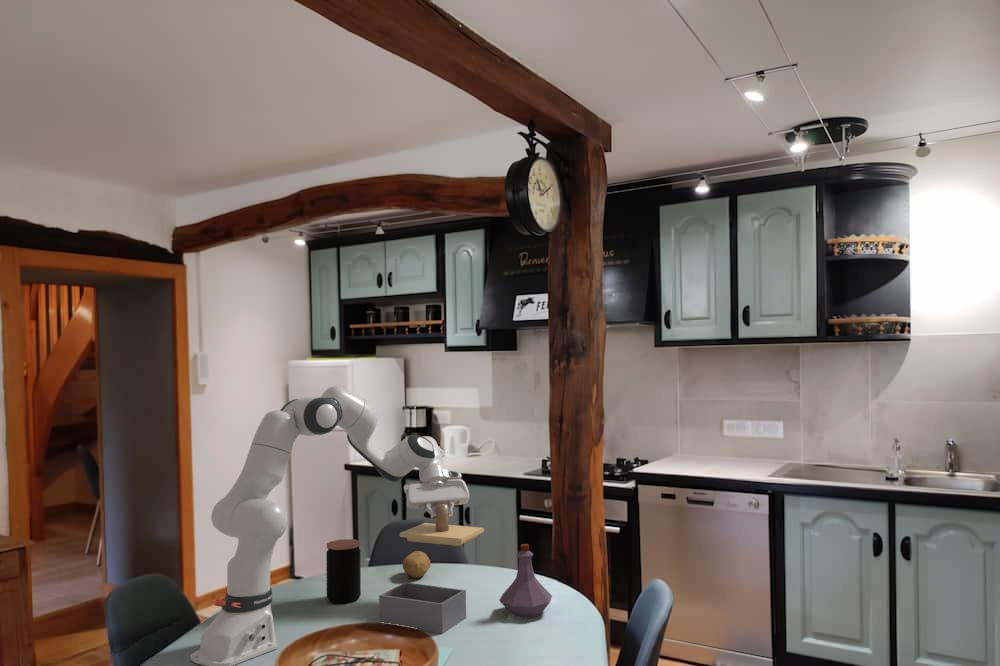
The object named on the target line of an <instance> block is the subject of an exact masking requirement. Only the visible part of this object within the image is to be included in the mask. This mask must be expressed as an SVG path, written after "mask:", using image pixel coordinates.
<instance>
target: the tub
mask: <svg viewBox="0 0 1000 666" xmlns="http://www.w3.org/2000/svg"><path fill="white" fill-rule="evenodd" d="M378 600H379V601H378V602H379V603H378V607H379V608H378V610H379V611H378V613H379V614H378V615H379V619H378V620H379V622H384V623H391V624H399V625H404V626H409V627H414V628H417V629H420V630H419V631H422V630H423V631H424V632H429V633H435V634H442V635H443V634H444V633H446V632H447V631H449V630H450V629H452V628H453V627H455V626H456V625H457V624H459V623H461V622H462V621H463V620H465V619H466V618H467V590H465V589H460V588H458V589H457V588H451V587H443V586H436V585H429V584H421V583H413V582H406V581H405V582H403V583H401V584H399V585H398V586H395V587H394V588H392V589H389V590H388V591H385V592H383V593H382V594H380V595H378Z"/></svg>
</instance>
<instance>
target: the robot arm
mask: <svg viewBox="0 0 1000 666" xmlns="http://www.w3.org/2000/svg"><path fill="white" fill-rule="evenodd" d="M260 421H261V422H260V423H259V425H258V427H257V429H256V432H255V434H254V436H253V439H252V442H251V445H250V447H249V451H248V453H247V456H246V459H245V463H244V464H243V468H242V470H241V472H240V474H239V476H238V477H237V479H236V481H235V483H234V484H233V485H232V487H231V489H230V490H229V491H228V492H227V494H226V495H225V496H224V497H223V498H221V499H219V501H217V502H216V503H215V505H214V506H213V509H212V511H211V516H210V517H211V518H210V519H211V522H212V526H213V527H214V528H215V529H216V530H217V531H219V532H220V533H222V534H224V535H226V536H228V537H232V538H237V539H238V540H237V541H238V543H237V547H236V551H235V554H234V555H233V557H232V558H231V559H230V560H229V561H228V563H227V567H226V568H227V569H226V570H227V571H226V573H227V577H226V583H227V587H226V590H227V592H225V595H224V598H220V597H217V598H215V600H214V602H213V603H214V606H215V607H221V610H220V612H218V614H217V615H216V617H215V618H213V620H212V621H211V623H210V624H209V625H208V626H207V628H205V629H204V630H203V632H202V635H201V639H200V644H199V645H200V648H199V649H198V650H196V651H194V652H193V653H191V654H190V656H189V657H190V658H189V659H190V661H192V662H193V663H194V664H197V665H201V666H235V665H236V664H240V663H243V662H246V661H247V660H250V659H253V658H256V657H258V656H261V655H264V654H266V653H268V652H269V653H270V652H272V651H274V650H276V649H278V643H277V636H276V632H275V626H274V617H273V616H274V615H273V612H272V605H271V603H272V602H273V589H272V587H271V564H272V557H273V552H274V549H275V546H276V544H277V542H278V540H279V539H280V538H281V537H282V536H283V535H284V534H285V532H286V530H287V528H288V523H289V521H288V520H289V518H288V514H287V511H286V509H285V508H284V507H282V506H281V505H279V504H277V503H276V502H274V501H272V500H267V499H268V498H267V497H268V496H269V494H270V493H271V492H272V490H273V489H275V488H276V487H277V486H278V485H280V484H281V483H282V481H283V479H284V477H285V474H286V470H287V467H288V465H289V464H288V463H289V460H290V457H291V454H292V451H293V447H294V443H295V441H296V440H297V438H298V437H299V436H300V435H302V436H306V437H307V436H308V437H309V436H321V435H322V436H323V435H326V434H328V433H330V432H332V431H333V430H335V429H336V427H337V426H339V427H340V428H341V429H342V430H344V431H345V432H346V433H347V434H346V438H347V442H348V443H349V445H350V446H351V447H352V448H353V449H354V450H355V451H356V452H357V453H358V454H360V456H361V457H363V459H365V460H366V461H367V462H368V463H369V464H370V465H371V466H373V467H374V468H375V469H376V470H377V472H378V473H379V475H380V476H381V477H382V478H383V479H384V480H386V481H389V482H392V483H393V482H395V483H398V482H400V481H401V480H402V479H403V478H404V477H405V476H407V475H408V474H409V473H410V472H412V471H413V470H414V469H418V477H419V481H418V480H417V481H408V482H407V483H406V484H404V486H403V491H404V493H405V495H406V507H407V508H408V509H409V510H417V509H425V511H426V512H427V513H428V514H429V515H430V518H431V519H436V516H437V514H436V511H435V510H433V509H432V508H435V505H436V504H448V518H449V517H453V516H454V511H453V509H454V507H455V506H459V505H466V504H468V503H469V500H470V491H469V488H468V486H467V484H466V482H465V480H463V479H462V473H461V472H459V471H455V470H450V469H447V468H445V466H444V464H443V462H444V460H443V456H442V452H441V449H440V446H439V445H438V442H437V441H436V439H435V438H433V436H426V435H425V436H422V435H419V434H409V435H407V436H406V437H405V438H404V439H402V440H401V441H400V442H399V443H397V444H396V445H395V446H393V447H392V448H391V449H390V450H389V449H388V450H387V451H381V450H380V448H378V446H376V445H375V444H374V443H373V442H372V441H371V440H370V438H371V437H372V435H373V433H374V432H375V430H376V426H377V425H378V424H377V423H378V414H377V409H376V408H375V407H374V406H373V405H372V403H371V402H369V401H367V400H366V399H365V398H363V397H362V396H360V395H359V394H357V393H355V392H353V391H351V390H349V389H347V388H344V387H342V386H341V385H333V386H330V387H328V388H327V389H326V390H324V392H323V393H322V395H321V396H320V397H310V396H309V397H308V396H307V397H303V398H295V399H292V400H290V401H288V402H287V403H285V404H284V405H283V406H282V407H281V409H280V410H271V411H268V412H267V413H265V415H264V416H263V418H262V419H261V420H260Z"/></svg>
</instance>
